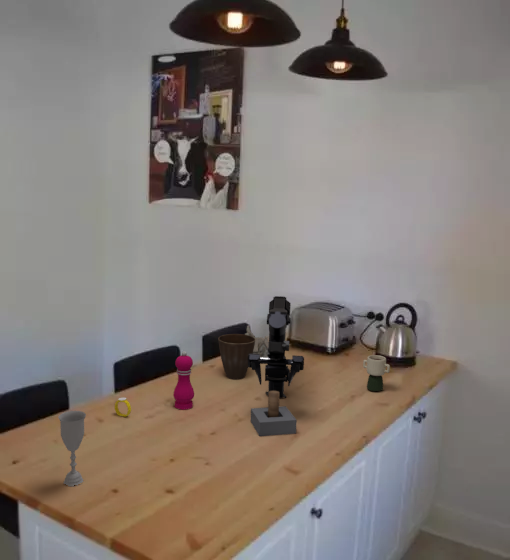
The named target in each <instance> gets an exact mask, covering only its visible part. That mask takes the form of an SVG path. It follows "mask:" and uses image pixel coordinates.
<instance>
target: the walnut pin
mask: <svg viewBox="0 0 510 560" xmlns="http://www.w3.org/2000/svg"><path fill="white" fill-rule="evenodd" d="M267 397H268V399H267V402H268V403H267V407H268V418H271V417H279V407H280V398H279V392H278V391H269V394H268V396H267Z"/></svg>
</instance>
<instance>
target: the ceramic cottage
mask: <svg viewBox="0 0 510 560" xmlns="http://www.w3.org/2000/svg"><path fill="white" fill-rule="evenodd" d="M244 335H249V336H252V337H254V338H255V345H254V350H253V354H260V358H268V356H267V352H268V344H269V336H267V335H266V336H264V338H263V336H262V337H256V335H254V333H252V330H251V328H250V325H246V333H244Z"/></svg>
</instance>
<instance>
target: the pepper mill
mask: <svg viewBox="0 0 510 560" xmlns="http://www.w3.org/2000/svg"><path fill="white" fill-rule="evenodd" d="M187 354H188V353H187V351H185V350H183V351H182V352H181V355H179V356H178V357H177V358H176V359H175V362H174V363H175V367H176V374H177V383H176V386H175V388H174V391H173V395H172V396H173V398H174V408H175V409H177V410H183V411H184V410H190V409H192V408H193V405H194V404H193V403H194V402H193V399H194V397H195V391H194V387H193V386H192V383H191V374H192V367H193V365H194V361H193V359H192V357H191V356H189V355H187Z"/></svg>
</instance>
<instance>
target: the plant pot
mask: <svg viewBox="0 0 510 560" xmlns="http://www.w3.org/2000/svg"><path fill="white" fill-rule="evenodd" d="M217 338H218V340H217V341H218V348H219V355H220V359H221V363H222V367H223V370H224V374H225V376H226V378H228V379H230V380H242V379H244V378H245V376H246V375H247V372H248V370H249V367H248V355H249V354H250V353H253V350H254V345H255V338H254V337H252V336H249V335H245V333H244V334H241V333H229V334H222V335H220V336H219V337H217Z"/></svg>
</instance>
